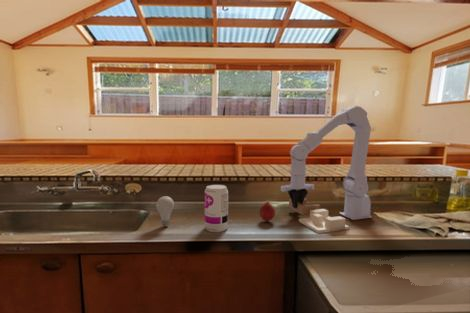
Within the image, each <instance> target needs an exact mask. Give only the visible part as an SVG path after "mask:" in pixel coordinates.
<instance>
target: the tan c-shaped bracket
mask: <svg viewBox="0 0 470 313" xmlns="http://www.w3.org/2000/svg"><path fill="white" fill-rule="evenodd" d="M288 208H289V209H290V210H293V211H294V212H296V213H298V214H300V215H301V216H307V215H308V216H310V210H316V209H321V205H320V204H308V199H307V198H305V199H304V201H303V204H301V203H299V202H297V208H294V207H293V205H292V201H291V198H290V199H288Z"/></svg>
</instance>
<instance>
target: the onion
mask: <svg viewBox="0 0 470 313" xmlns="http://www.w3.org/2000/svg"><path fill="white" fill-rule="evenodd" d="M275 212H276V210H275V208H274V206H273V205H272V204H270V201H268V200H266V201H265V203H264V204H262V205H261V207H260V208H259V212H258V213H259V216H260V218H261V219H262V220H263V221H264V222H266V223H269V222H270V221H271V220H272V219H273V218H274V217H275V215H276V213H275Z"/></svg>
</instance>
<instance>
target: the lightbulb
mask: <svg viewBox="0 0 470 313" xmlns="http://www.w3.org/2000/svg"><path fill="white" fill-rule="evenodd" d="M155 206H156V209H157V212H158V213H159V216H160V220H161V225H162V226H163V227H168V226H169V225H170V220H171V214H172V212H173V209H174V206H175V202H174V199H173V198H172V197H170V196H167V195H166V196H165V195H163V196H161V197H160V198H158V199H157V201H156V204H155Z"/></svg>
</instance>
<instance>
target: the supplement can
mask: <svg viewBox="0 0 470 313" xmlns="http://www.w3.org/2000/svg"><path fill="white" fill-rule="evenodd" d="M228 227H229V190H228V188H227V186H226V185H225V184H210V185H209V184H208V185H207V186H206V187H205V189H204V229H206V231H208V232H210V233H222V232H225V231H226V230H227V229H228Z"/></svg>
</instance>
